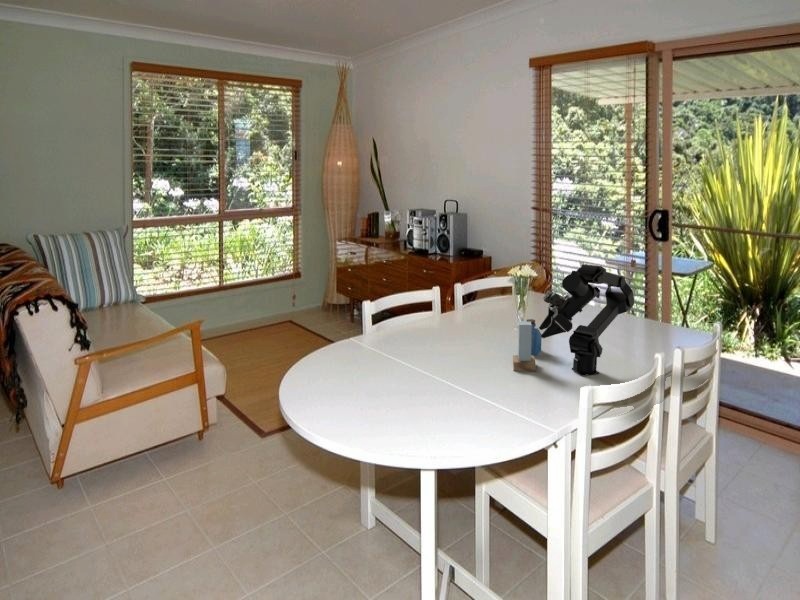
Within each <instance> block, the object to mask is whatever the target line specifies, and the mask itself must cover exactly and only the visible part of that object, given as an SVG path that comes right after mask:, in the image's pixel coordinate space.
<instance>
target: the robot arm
mask: <svg viewBox="0 0 800 600" xmlns="http://www.w3.org/2000/svg"><path fill="white" fill-rule="evenodd" d="M592 284H596V285H602V284H603V285H607V288H606V291H605V292H604V295H605V301H606V304H605V306H604V307H603V308H602V309H601V310H600V311H599V313H598V314H597V315H596V316H595V317H594V318H593V319H592V320H591V321H590V322H589V324H588V325H582V324H580V325H578V326H577V327H576V328H575V329H574V330H573V331H572V332H573V333H571V335H570V336H569V339H568V344H569V349H570V353H572V354H574V358H573V362H572V366H573V367H571V370H572V371H573V370H574V371H573V372H575V373H576V372H577V374H578V375H579V376H581V375H584V376H590V375H591V374H592V375H597V374H600V372H599V371H598V370H597V363H598V362H597V361H598V358H601V356H602V354H603V350H604V349H603V347H602V345H601V344H600V339H599V338H600V336H601V335H602V334H603V333H604V332H605V330H606V329H607V328H608V327H609V326H610V324H612V323H613V321H615V319H616V318H617V317H618V315H621V314H625V313H627V312H628V311H630V310H631V309H632V308H633V306H634V305H635V295H634V291H633V288H631V287H630V285H629V284H628V283H627V280H626V277H625V276H623V275H617V274H616V273H611V272H608V271H607V269H606V268H605V267H603V266H602V265H594V264H585V263H583V264H581V265H580V267H578V268H577V270H571V272H570V274H567V275H566V276H565V277H564V278H563V279H562V282H561V287H562V289H563V290H564V291H565V292H567V293H568V294H565V295H564V296H562V295H560V294H559V293H557V292H555V291H551V290H549V289H547V290H546V292H545V294H544V295H543V298H542V299H543V301H544V302H545V303H547V304H548V306H547V309H548V310H547V315H546V316H545V318H544V319H543V321H542V322H541V324H540V326H539V327H538V330H539V331H543V330H544V331H543V332H542V333H541V334H542V335H541V337H542V339H546V338H549V337H552V336H555V335H558V334H562V333H569V332H570V331H571V330H572V329H573V322H572V320H573V317H574V316H576V315H577V314H579V313H582V312H583V308H585V307H586V306H587V305H588V304H589V303H590V302H592V301H593V300H594V299H595V298H597V299H600V295H601V294H600V293H601V289H600V288H599V287H597V286H593V285H592ZM612 287H613V288H620V291H617V290H616V291H615V290H612Z"/></svg>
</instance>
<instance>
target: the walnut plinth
mask: <svg viewBox="0 0 800 600" xmlns="http://www.w3.org/2000/svg"><path fill="white" fill-rule="evenodd" d="M512 367H513V371H515V372H518V371H519V372H536V360H535V356H534V355H531V361H519V360H518V354H516V355H515V354H513V355H512Z"/></svg>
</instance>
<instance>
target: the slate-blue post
mask: <svg viewBox="0 0 800 600" xmlns="http://www.w3.org/2000/svg"><path fill="white" fill-rule="evenodd" d="M531 331H532V324H531V322H527V321H518V336H517V338H518V345H517V346H518V347H517V349H518V351H517V355H518V360H519V361H531V356H532V355H531Z"/></svg>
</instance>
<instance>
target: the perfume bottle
mask: <svg viewBox="0 0 800 600" xmlns="http://www.w3.org/2000/svg"><path fill="white" fill-rule="evenodd" d="M525 322H531V324H532V331H531V356H534V357H536V356H537V355H538V354H539V353H541V352H542V339H543V338H542V337H541V335H542V334H543V333H541V330H540V329H539V327H538V328H536V324H537V323H536V319H533V318H532V319H531V318H528V319H526V321H525Z"/></svg>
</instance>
